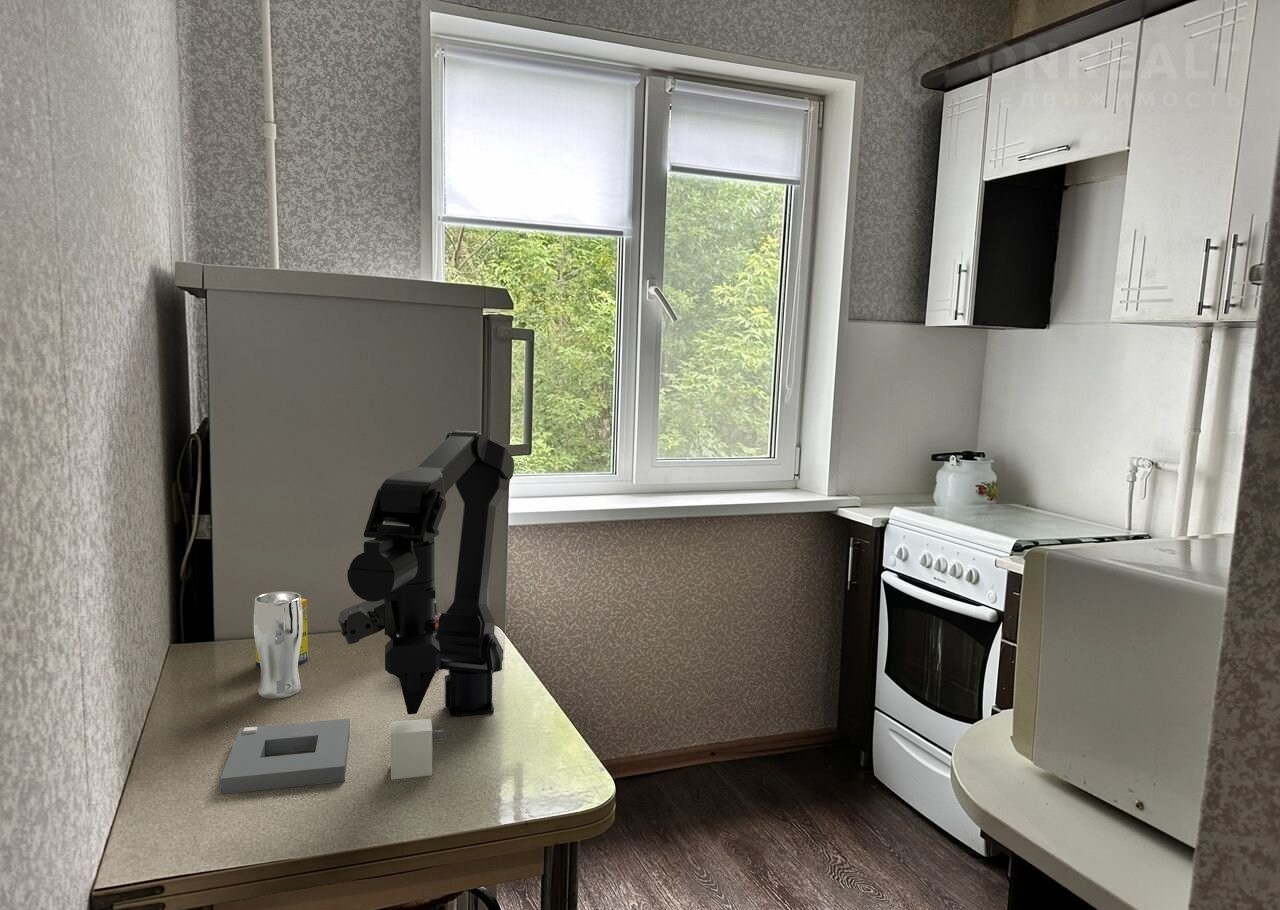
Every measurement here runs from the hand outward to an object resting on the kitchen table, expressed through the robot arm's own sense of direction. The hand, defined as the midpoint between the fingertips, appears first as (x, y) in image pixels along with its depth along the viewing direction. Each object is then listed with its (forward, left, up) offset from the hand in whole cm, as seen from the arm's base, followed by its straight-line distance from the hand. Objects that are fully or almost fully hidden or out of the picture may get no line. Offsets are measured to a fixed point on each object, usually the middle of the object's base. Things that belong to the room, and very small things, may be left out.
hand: (411, 698), depth 107 cm
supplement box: (+20, -42, -10) cm, 47 cm away
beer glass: (+19, -30, -10) cm, 37 cm away
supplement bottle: (-3, -36, -10) cm, 37 cm away
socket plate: (+15, -6, -10) cm, 19 cm away
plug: (0, 0, -10) cm, 10 cm away
